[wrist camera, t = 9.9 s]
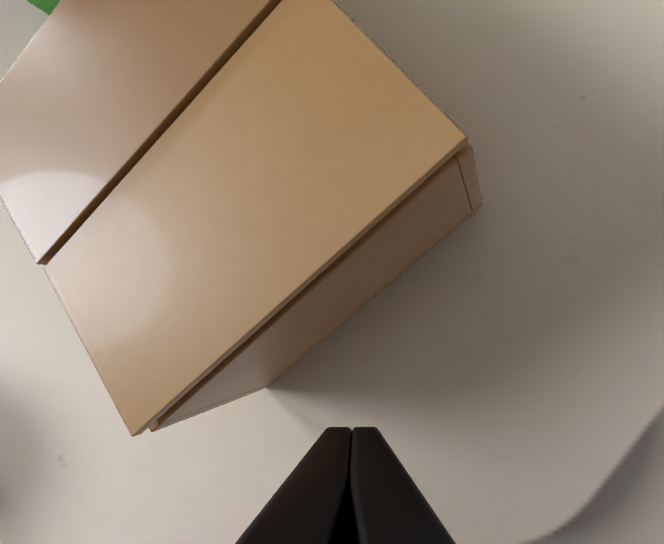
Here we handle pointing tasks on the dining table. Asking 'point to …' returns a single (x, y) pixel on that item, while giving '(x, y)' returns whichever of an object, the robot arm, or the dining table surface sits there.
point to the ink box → (45, 5)
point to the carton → (141, 134)
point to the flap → (245, 203)
